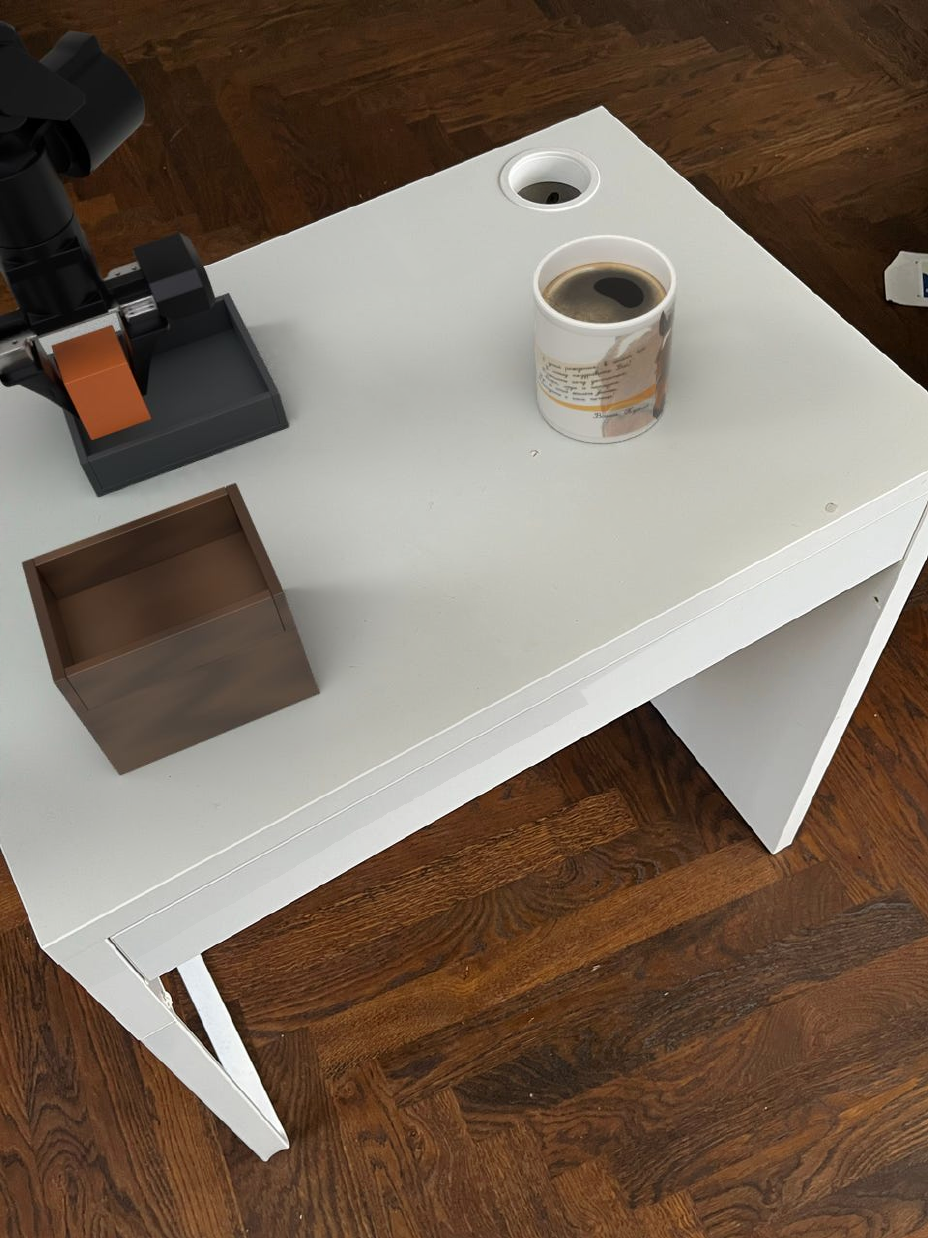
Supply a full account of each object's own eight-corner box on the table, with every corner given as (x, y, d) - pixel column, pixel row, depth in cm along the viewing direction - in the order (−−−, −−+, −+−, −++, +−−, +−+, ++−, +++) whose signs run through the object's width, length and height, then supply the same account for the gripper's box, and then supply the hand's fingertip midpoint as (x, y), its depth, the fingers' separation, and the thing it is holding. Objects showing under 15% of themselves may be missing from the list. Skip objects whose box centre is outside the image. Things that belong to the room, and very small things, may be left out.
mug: (506, 384, 89) (498, 266, 80) (630, 319, 92) (635, 198, 83) (588, 464, 83) (590, 347, 74) (717, 392, 86) (733, 271, 77)
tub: (97, 497, 85) (80, 464, 82) (61, 389, 93) (44, 355, 90) (289, 427, 88) (279, 392, 85) (239, 327, 95) (228, 292, 92)
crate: (119, 776, 72) (53, 683, 63) (86, 662, 77) (21, 561, 68) (320, 693, 74) (284, 592, 65) (274, 589, 79) (235, 481, 70)
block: (91, 440, 83) (64, 384, 79) (78, 401, 86) (50, 345, 81) (151, 419, 84) (127, 362, 79) (136, 381, 86) (112, 324, 82)
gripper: (140, 112, 77) (202, 298, 90) (-137, 198, 74) (-33, 378, 87) (184, 199, 71) (244, 385, 84) (-116, 297, 68) (-7, 475, 81)
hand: (111, 402), depth 84 cm, fingers closed on block, 4 cm apart
